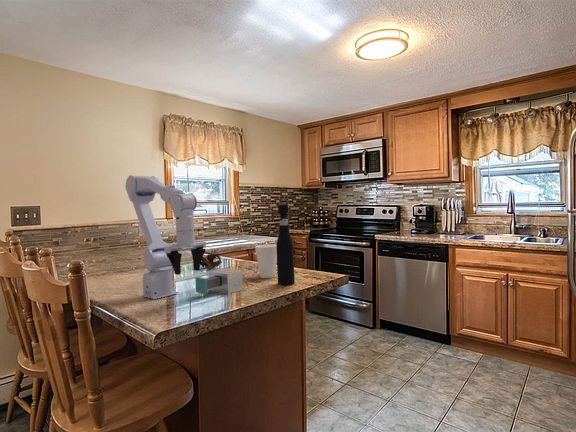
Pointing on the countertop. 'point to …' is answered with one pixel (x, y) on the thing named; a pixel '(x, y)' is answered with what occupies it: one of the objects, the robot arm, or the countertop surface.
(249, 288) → the countertop surface
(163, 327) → the countertop surface
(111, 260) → the countertop surface
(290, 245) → the wine bottle
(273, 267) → the foam cup
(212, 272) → the block
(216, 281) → the shaft
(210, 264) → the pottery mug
